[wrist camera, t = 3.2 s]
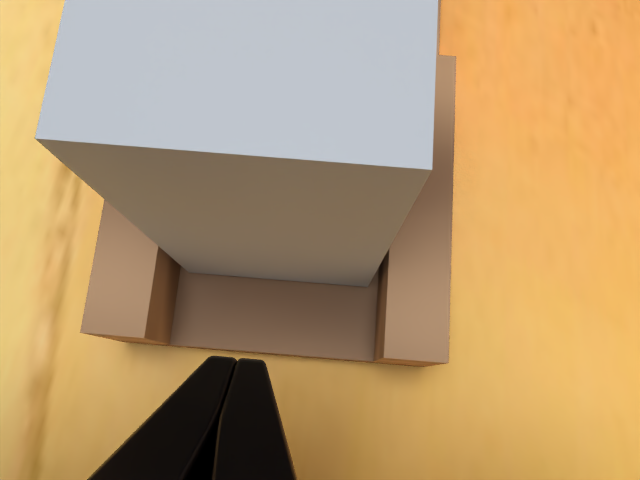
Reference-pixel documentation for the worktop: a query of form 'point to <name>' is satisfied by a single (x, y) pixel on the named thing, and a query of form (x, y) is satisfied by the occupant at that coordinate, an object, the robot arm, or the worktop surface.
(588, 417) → the worktop surface
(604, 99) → the worktop surface
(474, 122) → the worktop surface
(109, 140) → the block
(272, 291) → the tan cradle
